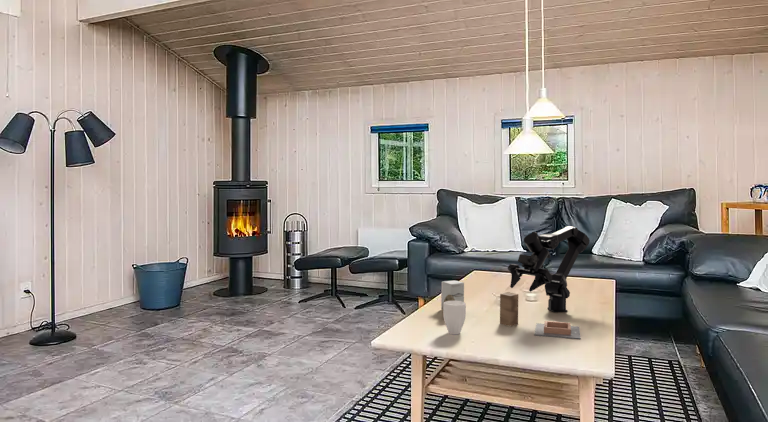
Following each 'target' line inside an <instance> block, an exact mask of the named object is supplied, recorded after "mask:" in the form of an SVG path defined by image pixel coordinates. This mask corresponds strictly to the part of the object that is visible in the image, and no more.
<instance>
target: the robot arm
mask: <svg viewBox="0 0 768 422" xmlns="http://www.w3.org/2000/svg"><path fill="white" fill-rule="evenodd" d="M565 240H566V241H567V247H568V249H567V251H566V253H565V254H564V256H563V258H562V260H561V262H560V264H559V266H558V268H557V270H556V271H555V273H551V272H550V270H548V268H544V267H545V266H544V263H545V261H546V259H551V254H550V251H549V250H555V249H556V248H557V247H558V246H559V243H561V242H563V241H565ZM523 242H524V244H525V246H526V247H527V249H528V250H529V252H531V254H530V255H528V254H521V253H520V254H519V255H518V259H517V262H518V263H520V264H521V266H522V268H521V267H520V265H519V264H515V263H510V264H509V265H508V266H507V268H506V269H507V270H508V271H509V273H510V274H511V278H510V279H511V280H510V285H509V286H510V288H511V289H513V288H514V287H515V286H516V285H517V284H518V283H519V281H520V280H521V277H522V276H523V275H529V276H531V277H534V279H533V280H532V283H531V285H530V287H529V288H528V291H529V292H530V293H531V292H533V291H535V290H536V289H538V288H540V287H541V286H544V290H545V295H546V296H548V297H549V299H548V300H547V301H548V304H547V305H548V307H547V310H550V312H553V313H563V312H565V313H566V312H568V309H567V299H569V298H570V294H571V292H570V290H569V288H568V282H567V278H568V276H569V274H570V272H571V271H572V268H573V266H574V264H575V262H576V260H577V258H578V256H579V255H580V253H582V252H585V251H586V249H587V247H588V246H589V244H590V237H588V235H587V233H584V232H583V231H582V230H579V228H578V227H576V226H570V225H569V226H564V228H562V229H559V230H557V231H554V232H553V233H545V234H538V232H537V231H532V232H531V233H528V234H527V235H526V236H525V237H524V238H523Z"/></svg>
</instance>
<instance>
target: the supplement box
mask: <svg viewBox="0 0 768 422" xmlns="http://www.w3.org/2000/svg"><path fill="white" fill-rule="evenodd" d="M440 293H441V300H440V303H441V304H440V306H441V307H440V308H441V310H442V307H443V302H444V300H445V298H446V296H447V295H449V294H450V295H452V296H453V297H454V299H455V301H462V302H465V301H464V300H465V282H463V281H459V280H456V279H455V280H444V281H441V291H440Z"/></svg>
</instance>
